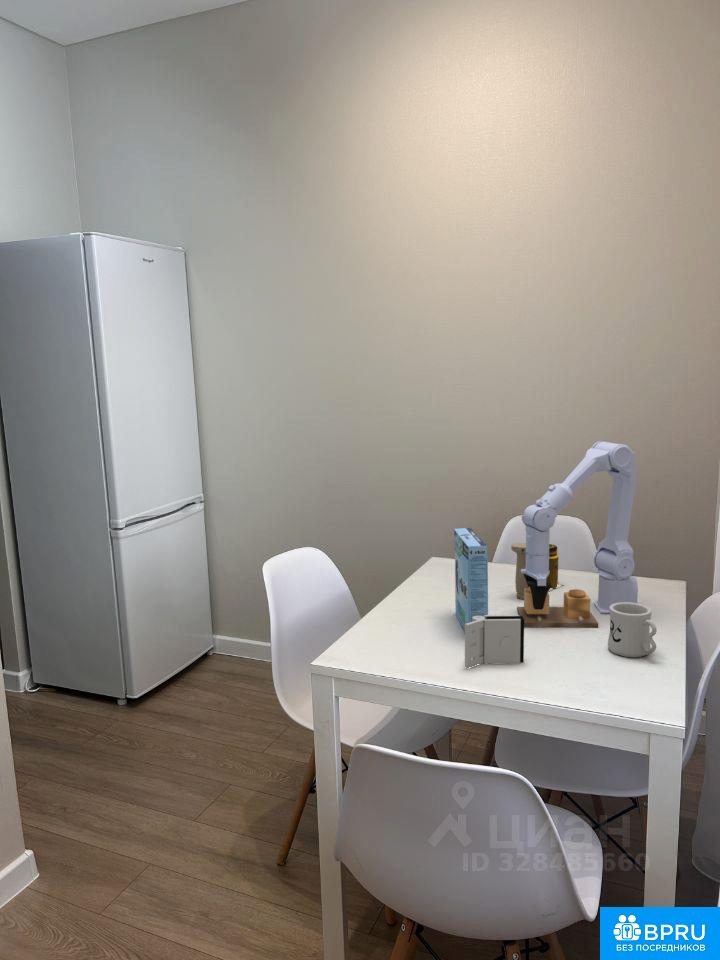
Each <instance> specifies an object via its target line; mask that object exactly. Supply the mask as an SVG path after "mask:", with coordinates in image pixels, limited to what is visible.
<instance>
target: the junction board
mask: <svg viewBox="0 0 720 960" xmlns="http://www.w3.org/2000/svg"><path fill="white" fill-rule="evenodd" d="M516 612H517V615H519V616H523V618H524V628H557V629H558V628H561V629H562V628H565V629H566V628H568V629H569V628H576V629H577V628H578V629H580V628H581V629H582V628H583V629H584V628H587V629H588V628H592V629H594V628H599V621H598V620H597V619H596V617H595V616H594V615H593V613H592V612H591V598H590V597H589V595H588V594H587V592H586V591H585V590H583V589H577V588H576V589H570V590H569V591H568V592H563V606H549V614H527V613H526V610H525V608H524V606H517V607H516Z"/></svg>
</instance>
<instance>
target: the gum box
mask: <svg viewBox="0 0 720 960" xmlns="http://www.w3.org/2000/svg"><path fill="white" fill-rule="evenodd" d="M453 531H454V579H455V580H454V587H455V588H454V589H455V590H454V591H455V592H454V593H455V600H454V601H455V606H454V607H455V614H456V617H457V620H458V621H459V623H460V625H461V627H462V629H463V631H464V632H465V624H467V623H470V622H472V617H473V616H483V617H484V615H489V572H488V570H489V565H488V563H489V560H488V559H489V556H488V555H489V553H488V550H489V549H488V545H487V544H486V543H485V542H484V541H483V539H482V538H481V537H480V536H479V535H478V534H477V533H476V531H474V529H473V528H472V527H464V528H463V527H462V528H461V527H460V528H454V529H453Z"/></svg>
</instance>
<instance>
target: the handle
mask: <svg viewBox="0 0 720 960" xmlns="http://www.w3.org/2000/svg"><path fill="white" fill-rule="evenodd" d="M510 547H511V550H512V551H513V552H514V553H515V554H516V567H515V590H516V591H515V592H516V598H517V599H519V600H524V588H528V586H527V582H526V579H525V577H524V575H523V574H522V573H521V569H525V568H526V542H516V543H515V542H514V543H511V545H510Z"/></svg>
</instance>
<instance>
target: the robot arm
mask: <svg viewBox="0 0 720 960" xmlns="http://www.w3.org/2000/svg"><path fill="white" fill-rule="evenodd" d="M585 453H586V454H585V456H584V458H583V459H581V461H580V462H579V463H578V465H577V466H576V467H575V468H574V469H573V470H572V472H570V474H569V475H568V476H567V477H566V478H565V480H563V481H562V482H561V483H554V484H553V485H552V484H551V485H549V487H548V490H547V491H546V492H545V494H543V495H542V497H540V498H539V499H537V500H536V501H535V504H532V505H528V506H527V507H526V508H525V510H524V512H523V515H521V521H522V523H523V524H524V526H525V543H526V568H525V569H521V573H522V574H523V575H524V577H525V579H526V582H527V586H528V588H529V587H530V590H531V593H532V599H533V606H534V609H543V607H544V604H545V599H546V596H547V593H549V592H550V591H549V589H550V588H551V583H546V578H547V577H548V575H549V574H550V570H549V544H550V530H551V528H553V527H554V525H555V522H556V518H557V517H558V515H559V514H560V512H561V511H562V510H564V508H566V506H568V504H570V502H571V501H573V496H574V495H573V493H574V492H575V491H576V490H577V489H578V488H579V487H581V486H582V485H583V484H584V483H585V482H586V481H587V480H588V479H589V478H591V477H592V476H593V475H594V474H595V473H599V472H607V473H608V474H609V475H610V476H611V478H612V486H611V495H610V503H609V509H608V516H607V517H608V518H607V523H606V524H607V525H606V531H605V538H603V539H602V540H601V541H600V542H599V543H598V548H597V549H596V550H597V551H596V552H595V554H594V556H593V565H594V567H595V568H596V569H597V574H598V594H597V595H598V597H597V600H598V601H594V602H593V605H594V607H595V608H596V609H597V610H598V612H599V613H600V614H610V610H609V607H610V606H611V605H612V604H614V603H620V602H630V603H637V604H638V595H639V593H638V592H639V587H638V580H637V578H636V576H634V575H632V574H633V573H634V570H635V565H636V564H635V561H634V549H633V548H632V546H631V545H630V543H629V541H628V540H629V533H630V526H631V520H632V519H631V518H632V512H633V505H634V499H635V498H634V497H635V493H636V492H635V490H636V485H637V477H638V475H637V473H638V472H637V468H636V463H635V459H636V453H635V452H634V451H633V450H632V449H631V447H630V446H629V445H627V444H624V443H614V442H608V441H604V440H598V441H597V442H595V443H593V445H592V446H591V447H590V448H589V449H588V450H587V451H586V452H585ZM548 591H549V592H548Z"/></svg>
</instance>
